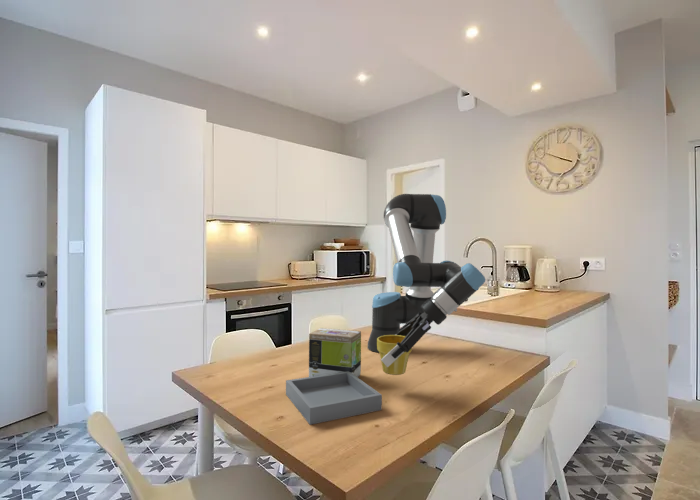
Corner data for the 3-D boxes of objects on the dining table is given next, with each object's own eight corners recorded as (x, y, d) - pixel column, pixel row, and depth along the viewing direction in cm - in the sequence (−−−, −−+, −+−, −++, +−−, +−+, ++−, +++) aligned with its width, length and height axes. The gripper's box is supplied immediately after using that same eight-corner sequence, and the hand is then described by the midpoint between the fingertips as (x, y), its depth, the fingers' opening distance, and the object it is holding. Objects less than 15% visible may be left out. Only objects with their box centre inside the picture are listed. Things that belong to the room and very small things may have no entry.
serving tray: (285, 394, 108) (286, 380, 108) (348, 384, 117) (348, 371, 117) (309, 424, 90) (310, 408, 90) (381, 409, 99) (381, 394, 99)
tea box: (361, 374, 126) (362, 330, 125) (351, 384, 116) (352, 337, 116) (320, 368, 131) (320, 326, 130) (307, 378, 121) (308, 332, 121)
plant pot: (374, 365, 116) (374, 334, 116) (406, 365, 117) (407, 334, 117) (379, 378, 106) (380, 343, 106) (415, 377, 107) (416, 343, 107)
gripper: (455, 325, 99) (394, 381, 100) (441, 308, 121) (391, 354, 123) (435, 304, 99) (374, 360, 101) (425, 291, 122) (375, 337, 123)
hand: (384, 357), depth 112 cm, fingers closed on plant pot, 10 cm apart
